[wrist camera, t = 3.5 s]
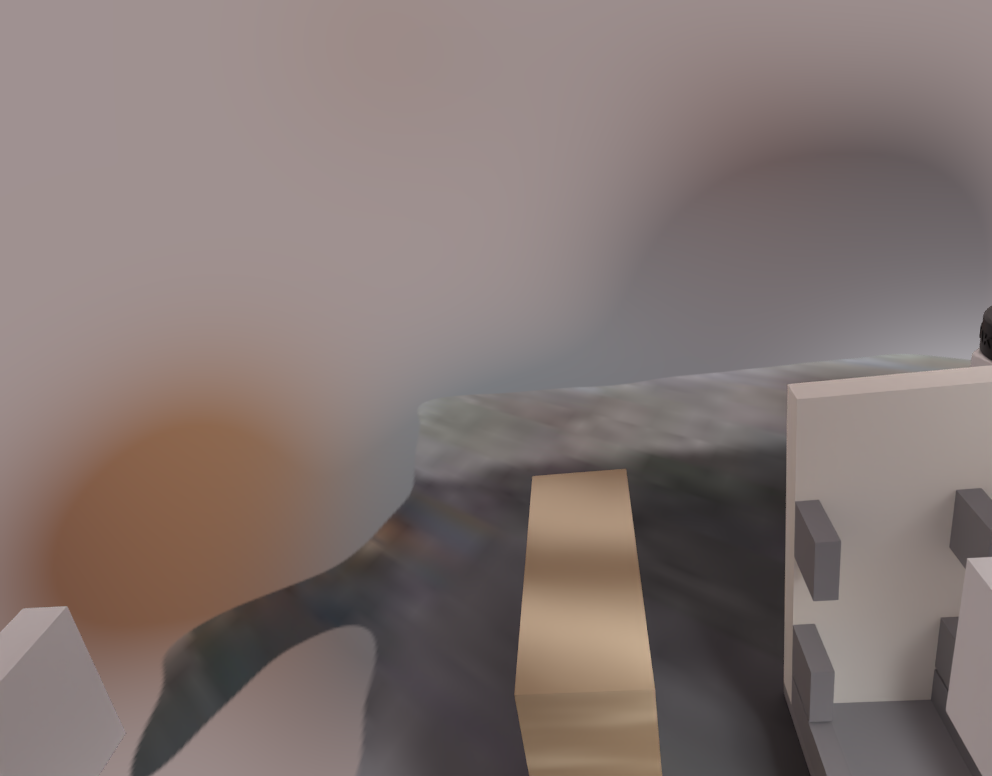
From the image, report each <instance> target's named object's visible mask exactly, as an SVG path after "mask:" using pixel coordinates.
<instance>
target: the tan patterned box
mask: <svg viewBox="0 0 992 776" xmlns="http://www.w3.org/2000/svg"><path fill="white" fill-rule="evenodd" d="M514 696H515V701H516V707H517V712H518V718H519V723H520V728H521V734H522V739H523V745H524V750H525V756H526V761H527V767H528V772H529V776H662V770H661V758H660V746H659V733H658V721H657V709H656V696H655V686H654V678H653V671H652V663H651V656H650V648H649V640H648V633H647V625H646V617H645V610H644V602H643V595H642V587H641V579H640V572H639V564H638V557H637V549H636V541H635V534H634V526H633V518H632V511H631V503H630V496H629V488H628V480H627V473H626V469H616V470H604V471H591V472H579V473H567V474H554V475H542V476H532V488H531V500H530V512H529V524H528V536H527V549H526V561H525V573H524V585H523V597H522V609H521V621H520V633H519V645H518V657H517V669H516V681H515V693H514Z"/></svg>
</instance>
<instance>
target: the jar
mask: <svg viewBox="0 0 992 776" xmlns="http://www.w3.org/2000/svg"><path fill="white" fill-rule="evenodd" d="M980 338H981V339H980V348H979V349H977V350H976V351H975V352H973V353H972V359H971V367H978V366H989V365H992V306H990V307H989V308H988V309H987V310H986V311H985V313H984V315H983V322H982V324H981V328H980Z"/></svg>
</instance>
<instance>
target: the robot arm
mask: <svg viewBox="0 0 992 776" xmlns="http://www.w3.org/2000/svg"><path fill="white" fill-rule="evenodd" d="M946 712H947V714H948V716H949V717H950V719H951V721H952V723H953V725H954V726H955V728H956V730H957V732H958V733H959V735H960V737H961V739H962V741H963V742H964V744H965V746H966V748H967V749H968V751H969V753H970V755H971V757H972V758H973V760H974V762H975V764H976V766H977V767H978V769H979V771H980V773H981V774H982V776H992V557H980V558H967V563H966V570H965V577H964V584H963V591H962V599H961V606H960V613H959V620H958V627H957V634H956V641H955V648H954V655H953V662H952V669H951V676H950V683H949V690H948V697H947V704H946ZM125 734H126V732H125V730H124V728H123V726H122V724H121V721H120V719H119V717H118V715H117V713H116V710H115V708H114V706H113V704H112V702H111V700H110V698H109V695H108V693H107V691H106V689H105V687H104V685H103V682H102V680H101V678H100V676H99V674H98V672H97V669H96V667H95V665H94V663H93V661H92V659H91V657H90V654H89V652H88V650H87V648H86V646H85V644H84V642H83V639H82V637H81V635H80V633H79V631H78V628H77V626H76V624H75V622H74V620H73V618H72V616H71V614H70V611H69V609H68V607H67V606H63V607H44V608H24V609H22V610H21V611H20V612H19V613H18V614H17V615H16V616H15V617H14V619H12V621H11V622H10V623H9V624H8V625H7V626H6V627H5V628H4V629H3V630H2V631H1V632H0V776H99V775H100V773H101V772H102V770H103V769H104V767H105V765H106V764H107V762H108V761H109V759H110V758H111V756H112V754H113V753H114V751H115V750H116V748H117V747H118V745H119V743H120V742H121V740H122V739H123V737H124V736H125Z"/></svg>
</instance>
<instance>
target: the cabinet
mask: <svg viewBox="0 0 992 776" xmlns="http://www.w3.org/2000/svg"><path fill="white" fill-rule="evenodd" d="M980 557H992V365H989V366H978V367H968V368H957V369H946V370H935V371H924V372H914V373H903V374H892V375H881V376H871V377H860V378H849V379H838V380H827V381H817V382H806V383H795V384H788V390H787V469H786V548H785V627H784V696H785V699H786V702H787V705H788V708H789V711H790V714H791V717H792V720H793V723H794V726H795V729H796V732H797V735H798V738H799V742H800V745H801V748H802V751H803V754H804V757H805V760H806V763H807V766H808V769H809V772H810V775H811V776H982V774H981V773H980V771H979V769H978V767H977V766H976V764H975V762H974V760H973V758H972V757H971V755H970V753H969V751H968V749H967V748H966V746H965V744H964V742H963V741H962V739H961V737H960V735H959V733H958V732H957V730H956V728H955V726H954V725H953V723H952V721H951V719H950V717H949V716H948V714H947V712H946V704H947V697H948V690H949V683H950V676H951V669H952V662H953V655H954V648H955V641H956V634H957V627H958V620H959V613H960V606H961V599H962V591H963V584H964V577H965V570H966V563H967V558H980Z"/></svg>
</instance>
